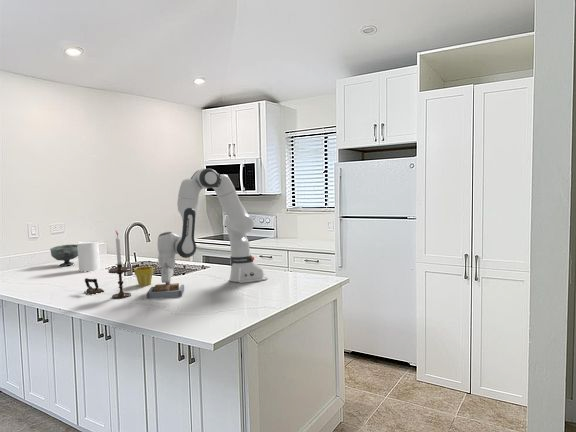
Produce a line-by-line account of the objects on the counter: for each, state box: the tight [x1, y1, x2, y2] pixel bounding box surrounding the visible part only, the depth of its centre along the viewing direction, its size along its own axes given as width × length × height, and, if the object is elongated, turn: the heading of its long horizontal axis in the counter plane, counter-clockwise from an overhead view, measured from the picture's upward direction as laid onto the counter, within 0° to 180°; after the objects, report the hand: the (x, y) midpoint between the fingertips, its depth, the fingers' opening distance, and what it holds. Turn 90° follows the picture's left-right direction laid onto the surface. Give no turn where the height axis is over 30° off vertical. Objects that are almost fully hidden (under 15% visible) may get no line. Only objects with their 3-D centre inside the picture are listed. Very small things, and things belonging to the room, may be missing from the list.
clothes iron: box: [84, 277, 105, 295], centre depth 227 cm, size 7×11×10 cm, turn 57°
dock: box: [146, 284, 185, 300], centre depth 216 cm, size 17×14×3 cm
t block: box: [154, 282, 180, 292], centre depth 217 cm, size 12×12×4 cm
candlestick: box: [108, 230, 132, 300], centre depth 214 cm, size 11×11×35 cm
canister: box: [76, 240, 101, 272], centre depth 292 cm, size 14×14×20 cm
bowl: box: [49, 244, 78, 267], centre depth 316 cm, size 20×19×15 cm
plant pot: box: [134, 266, 154, 287], centre depth 241 cm, size 10×10×10 cm
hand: (168, 287), depth 225 cm, fingers closed
